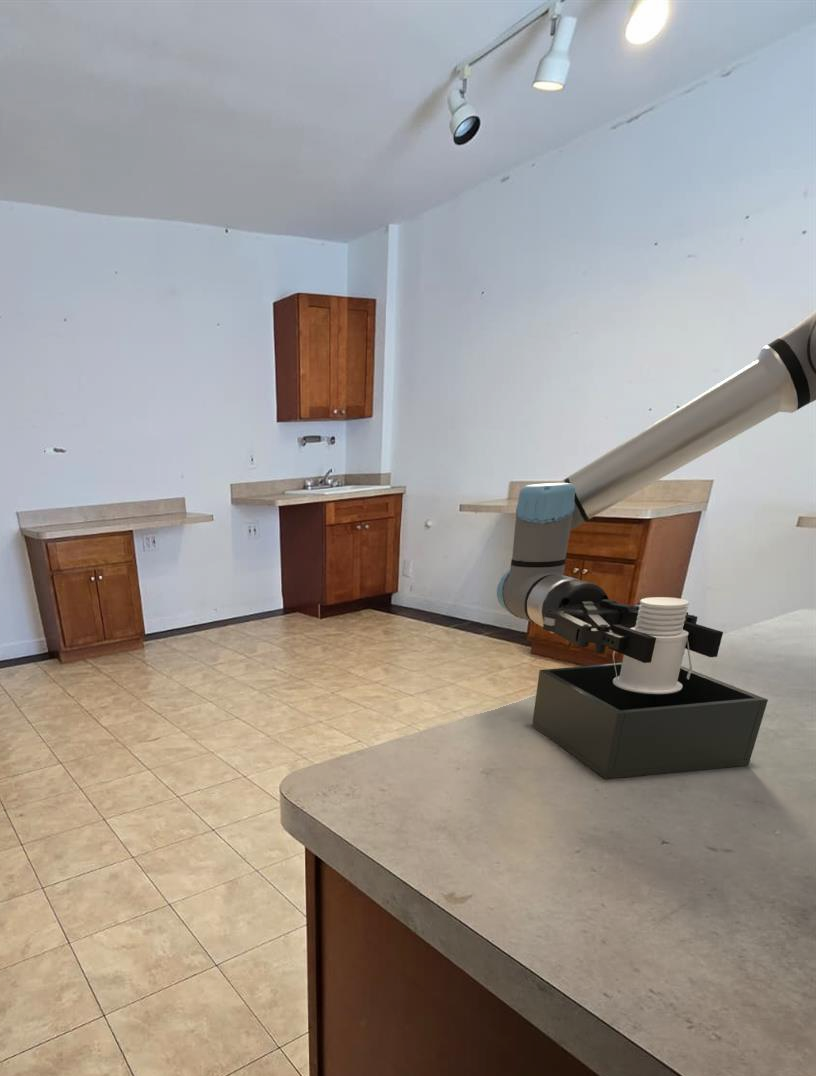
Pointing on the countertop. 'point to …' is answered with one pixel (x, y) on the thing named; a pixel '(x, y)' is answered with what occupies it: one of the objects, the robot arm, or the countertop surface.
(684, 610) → the downlight
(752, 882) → the countertop surface
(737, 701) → the dark grey open box
